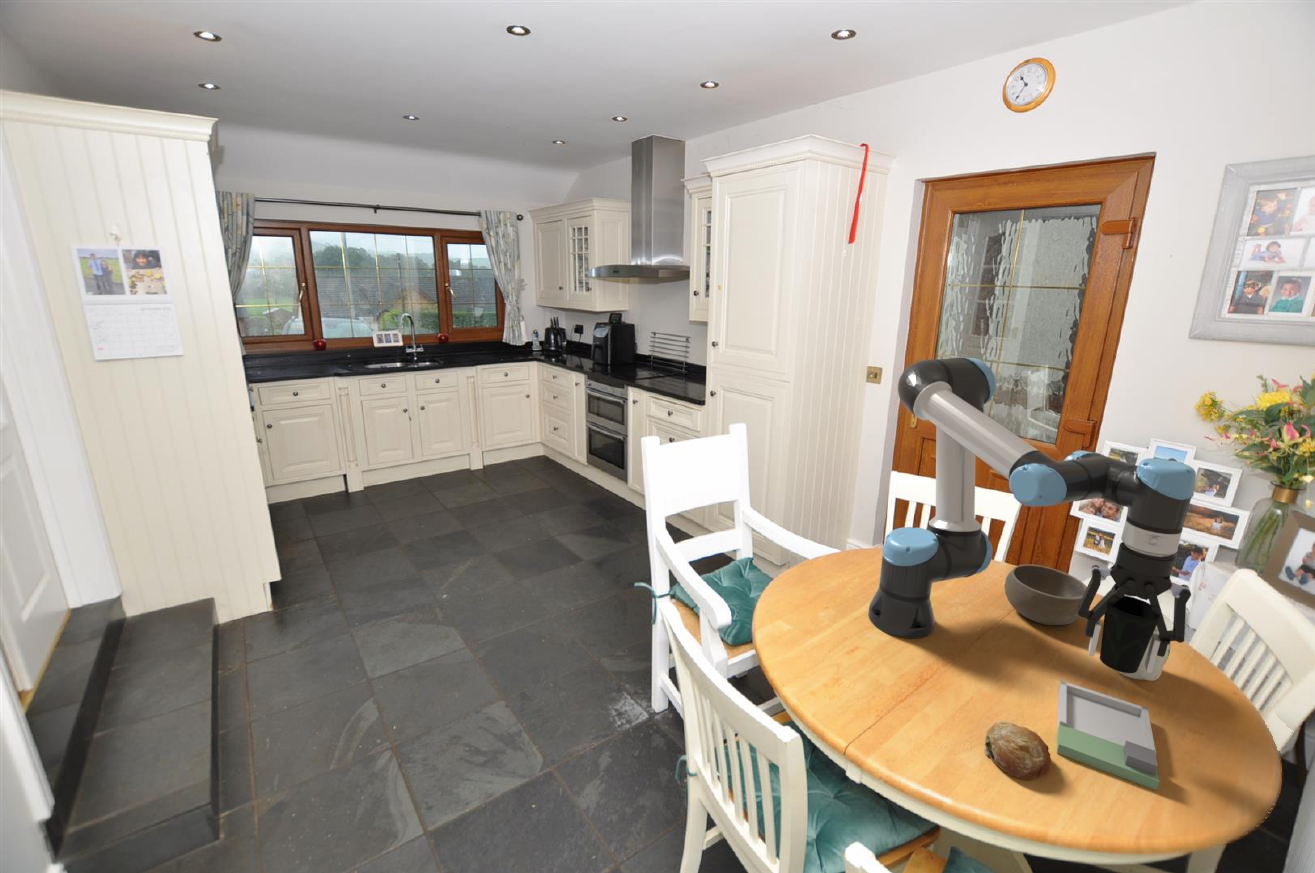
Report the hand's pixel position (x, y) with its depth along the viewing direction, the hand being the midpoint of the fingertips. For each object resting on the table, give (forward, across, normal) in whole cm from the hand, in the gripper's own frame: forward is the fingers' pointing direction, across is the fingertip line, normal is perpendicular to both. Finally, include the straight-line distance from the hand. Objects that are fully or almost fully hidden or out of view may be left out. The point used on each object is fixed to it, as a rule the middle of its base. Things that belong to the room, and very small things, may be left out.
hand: (1119, 659), depth 107 cm
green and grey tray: (+15, 0, -3) cm, 15 cm away
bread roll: (+15, -13, -18) cm, 27 cm away
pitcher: (+15, +6, +23) cm, 28 cm away
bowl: (+15, -11, +38) cm, 42 cm away
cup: (+1, 0, 0) cm, 1 cm away
